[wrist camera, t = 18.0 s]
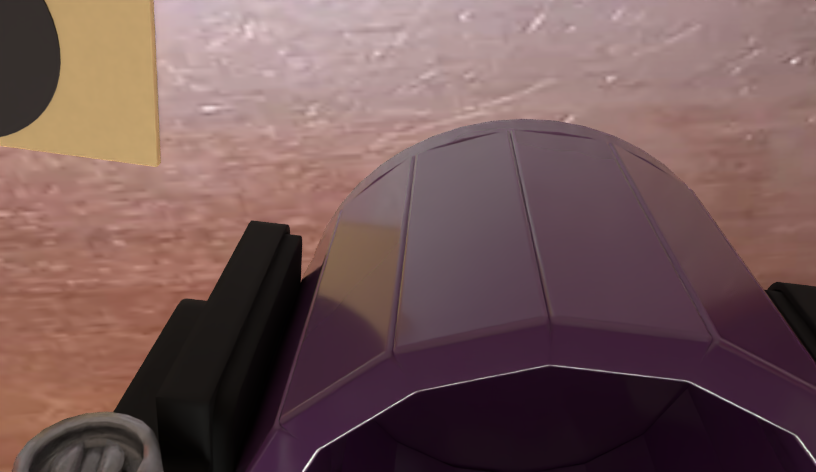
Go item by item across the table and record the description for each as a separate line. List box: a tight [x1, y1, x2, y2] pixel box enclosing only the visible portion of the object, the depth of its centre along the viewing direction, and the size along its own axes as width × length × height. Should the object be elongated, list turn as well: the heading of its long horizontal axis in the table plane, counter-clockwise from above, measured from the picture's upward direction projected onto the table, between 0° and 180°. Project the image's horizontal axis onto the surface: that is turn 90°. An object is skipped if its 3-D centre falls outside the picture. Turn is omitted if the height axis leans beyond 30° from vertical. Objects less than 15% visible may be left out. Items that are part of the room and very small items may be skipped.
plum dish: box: [235, 119, 816, 472], centre depth 9 cm, size 7×7×5 cm
